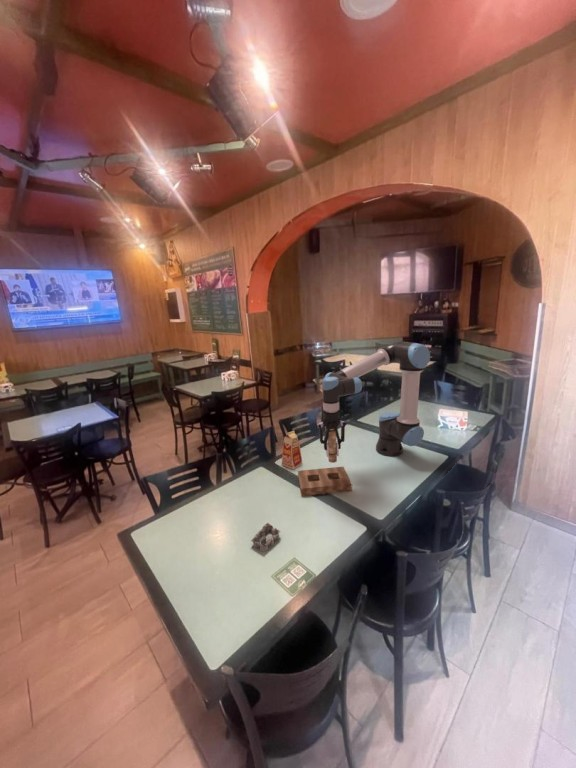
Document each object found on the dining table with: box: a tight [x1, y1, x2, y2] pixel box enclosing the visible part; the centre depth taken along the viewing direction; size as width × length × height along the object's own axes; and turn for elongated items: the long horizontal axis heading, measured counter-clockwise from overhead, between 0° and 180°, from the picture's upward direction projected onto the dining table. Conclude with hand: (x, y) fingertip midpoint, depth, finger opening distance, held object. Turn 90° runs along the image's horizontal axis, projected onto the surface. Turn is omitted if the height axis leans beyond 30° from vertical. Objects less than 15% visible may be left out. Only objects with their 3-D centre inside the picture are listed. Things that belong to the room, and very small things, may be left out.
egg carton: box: [250, 522, 281, 552], centre depth 121 cm, size 11×8×4 cm
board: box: [297, 466, 353, 497], centre depth 155 cm, size 24×16×4 cm, turn 94°
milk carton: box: [281, 430, 303, 470], centre depth 174 cm, size 9×9×20 cm
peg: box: [327, 429, 338, 464], centre depth 150 cm, size 4×4×16 cm
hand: (332, 455), depth 151 cm, fingers closed on peg, 4 cm apart
